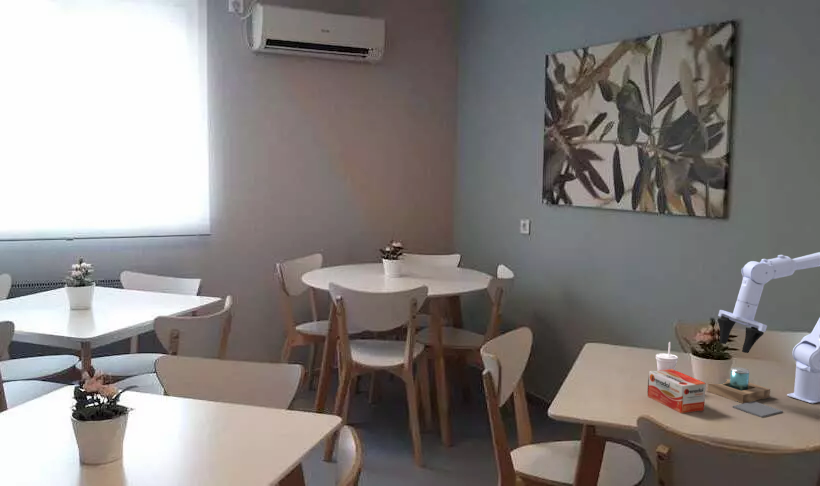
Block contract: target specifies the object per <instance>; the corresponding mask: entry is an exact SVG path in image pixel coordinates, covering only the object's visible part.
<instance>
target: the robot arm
mask: <svg viewBox="0 0 820 486" xmlns="http://www.w3.org/2000/svg"><path fill="white" fill-rule="evenodd" d="M817 267H820V251H818V252H814V253H811V254H806V255H803V256H798V257H795V258H791V257H790V256H788V255H784V254H778V255H777V257H774V258H768V259H766V258H762V259H761V260H760V261H756V260H755V261H754V260H751V261H748V262H747V263H746V264H744V266H743V267H741V270H740V271H741V272H740V273H741V275H742V281H741V285H740V287H739V292H738V295H737V298H736V302H735V304H734V305H735V306H734V308H733V312H730V311H728V310H727V311H726V310H724V309H719V311H718V315H717V316H718V317H717V323H718V326H719V344H721V345H726V344H727V343H728V340H729V337H730V334H731V333H732V330H733V328H734V326H735V324H736V323H738V324H741V325H744V326H746V327H745V336H744V343H743V345H742V349H741V350H742V351H741V352H742V353H744V354H745V353H746V354H749V353H750V351H751V349H752V347H754V344H756V343H757V341H758V340H759V339H760V338H761V337H762V336H764V333H766V330H767V328H768V325H767V324H764V323H761V322H759V321H757V320H755V317H756V313H757V311H758V307H759V303H760V300H761V296H762V293H763V290H764V287H765V284H767V283H769V282H770V281H771V280H775V279H781V278H784V277H785V278H786V277H790V276H793V274H794V273H795V272H796V271H800V270H805V269H811V268H817ZM791 352H792V353H791V354H792V358H793V360H794V361H795V365H796V366H795V375H794V378H795V379H794V389H793V392H791V393H787V394H786V396H788V397H790V398H794V399H797V400H799V401H803V402H806V403H809V404H816V403H820V317H819V318H818V320H817V322H816V324H815V326H814V327H813V329H812V331H810V333H809V334H807V335H805V336H803V337H802V339H801V340H800V341H799V342H798V343H797V344H796V345H795V346H794V347H793V349H792V351H791Z"/></svg>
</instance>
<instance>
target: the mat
mask: <svg viewBox="0 0 820 486" xmlns="http://www.w3.org/2000/svg"><path fill="white" fill-rule="evenodd" d="M732 408H734V409H737V410H739V411H741V412H745V413H748V414H751V415H753V416H756V417H760V418H764V417H768V416H769V417H770V416H773V415H776V414H781V413H783V412H784V410H781V409H778V408H774V407H772V406H769V405H765V404H763V403H761V402H758V401H751V402H747V403H740V404H736V405H732Z"/></svg>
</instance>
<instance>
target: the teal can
mask: <svg viewBox="0 0 820 486" xmlns="http://www.w3.org/2000/svg"><path fill="white" fill-rule="evenodd" d="M729 376H730V377H729V379H730V387H731V388H734V389H737V390H740V391H743V390H748V383H750V382H749V380H750V370H749V369H748V368H745V367H739V366H738V367H731V368H730V375H729Z"/></svg>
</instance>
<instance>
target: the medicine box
mask: <svg viewBox="0 0 820 486" xmlns="http://www.w3.org/2000/svg"><path fill="white" fill-rule="evenodd" d="M706 385H707V384H706V382H705V381H701V379H696V378H695V377H692V376H691V375H687V374H685V373H683V372H680V371H678V370H676V369H675V370H673V369H668V370H649V372H648V379H647V397H648V398H650V399H651V400H653V401H655V402H657V403H660V404H661V405H663V406H666V407H667V408H669V409H671V410H673V411H675V412H677V413H679V414H686V413H692V412H693V413H694V412H703V411H704V410H705V402H706Z"/></svg>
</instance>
